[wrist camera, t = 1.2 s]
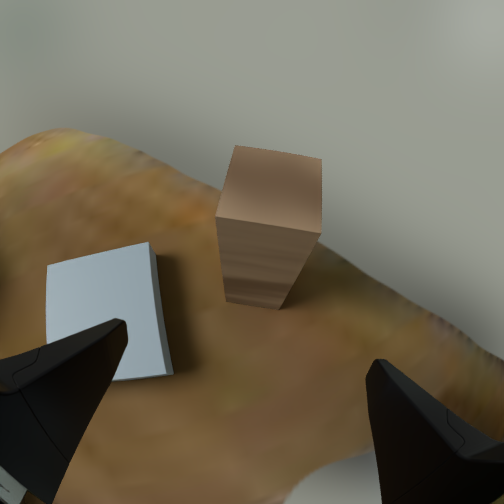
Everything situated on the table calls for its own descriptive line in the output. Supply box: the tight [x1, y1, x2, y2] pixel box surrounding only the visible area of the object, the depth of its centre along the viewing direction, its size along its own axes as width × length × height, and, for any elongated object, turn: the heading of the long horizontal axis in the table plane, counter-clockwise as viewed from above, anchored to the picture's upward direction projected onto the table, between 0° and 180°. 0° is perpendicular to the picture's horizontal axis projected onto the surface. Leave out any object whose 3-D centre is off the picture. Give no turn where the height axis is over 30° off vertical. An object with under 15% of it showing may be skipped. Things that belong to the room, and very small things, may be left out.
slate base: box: [46, 242, 174, 382], centre depth 20 cm, size 11×11×2 cm
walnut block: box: [215, 146, 322, 310], centre depth 18 cm, size 4×4×13 cm
